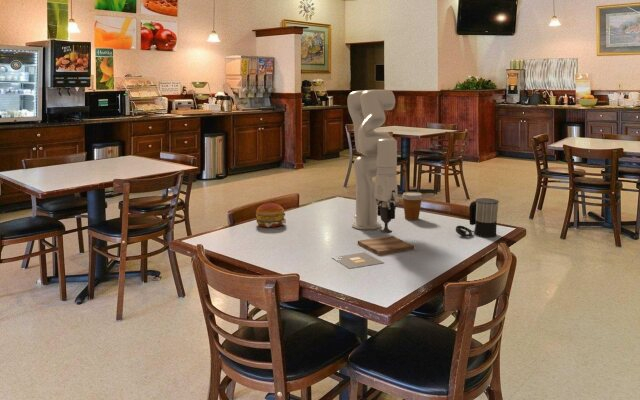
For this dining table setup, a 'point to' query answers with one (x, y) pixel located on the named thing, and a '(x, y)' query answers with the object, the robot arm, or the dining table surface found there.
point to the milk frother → (481, 218)
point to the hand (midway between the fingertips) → (386, 216)
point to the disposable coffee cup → (412, 205)
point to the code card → (358, 260)
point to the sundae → (384, 216)
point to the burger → (270, 215)
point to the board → (385, 245)
